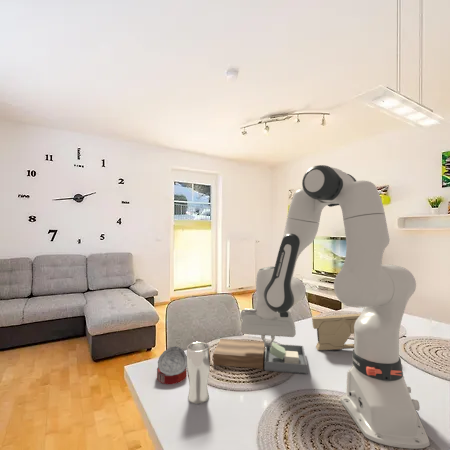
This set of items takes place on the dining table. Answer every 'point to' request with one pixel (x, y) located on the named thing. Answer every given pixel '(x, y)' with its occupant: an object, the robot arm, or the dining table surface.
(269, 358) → the tray
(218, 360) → the wooden block
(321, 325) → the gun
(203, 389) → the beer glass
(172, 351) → the canned food
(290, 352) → the tile
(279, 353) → the tile
